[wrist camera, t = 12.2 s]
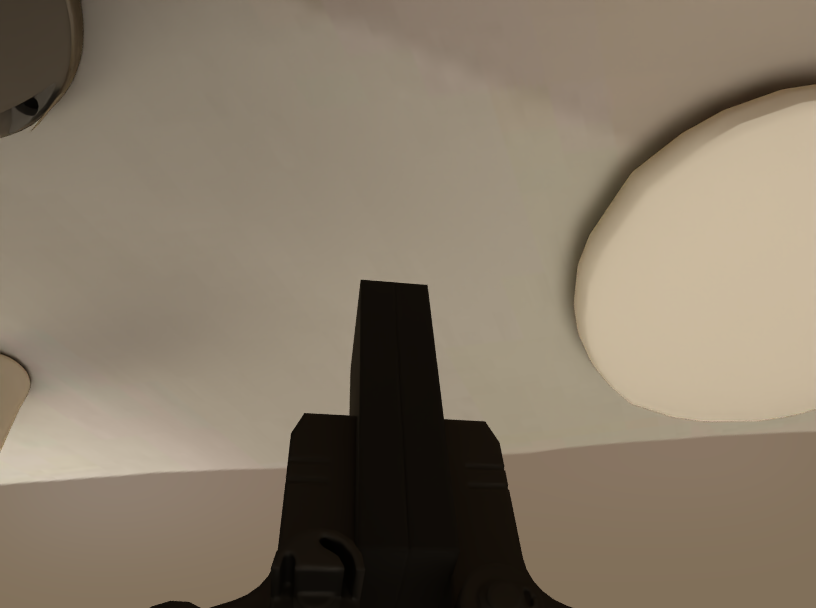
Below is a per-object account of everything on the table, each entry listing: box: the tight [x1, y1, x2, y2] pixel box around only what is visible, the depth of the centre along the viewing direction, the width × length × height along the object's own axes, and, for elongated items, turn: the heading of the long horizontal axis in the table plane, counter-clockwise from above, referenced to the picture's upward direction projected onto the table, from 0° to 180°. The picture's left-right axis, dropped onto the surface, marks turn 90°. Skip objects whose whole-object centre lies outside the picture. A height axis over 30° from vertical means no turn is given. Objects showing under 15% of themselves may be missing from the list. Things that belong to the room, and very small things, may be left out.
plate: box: [574, 84, 816, 422], centre depth 45 cm, size 28×6×27 cm
